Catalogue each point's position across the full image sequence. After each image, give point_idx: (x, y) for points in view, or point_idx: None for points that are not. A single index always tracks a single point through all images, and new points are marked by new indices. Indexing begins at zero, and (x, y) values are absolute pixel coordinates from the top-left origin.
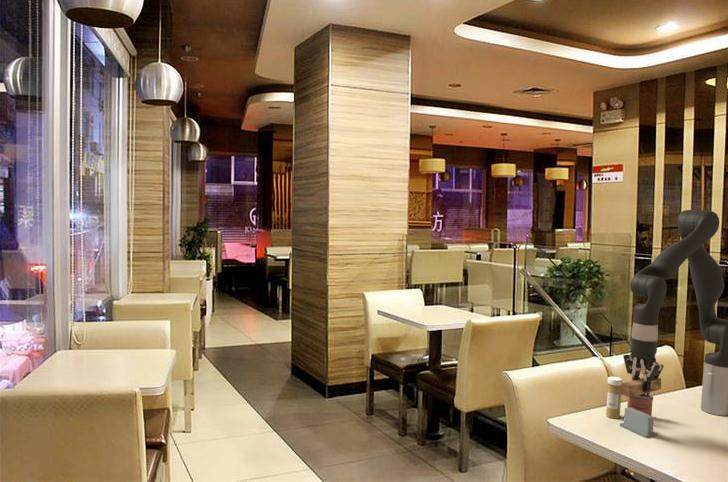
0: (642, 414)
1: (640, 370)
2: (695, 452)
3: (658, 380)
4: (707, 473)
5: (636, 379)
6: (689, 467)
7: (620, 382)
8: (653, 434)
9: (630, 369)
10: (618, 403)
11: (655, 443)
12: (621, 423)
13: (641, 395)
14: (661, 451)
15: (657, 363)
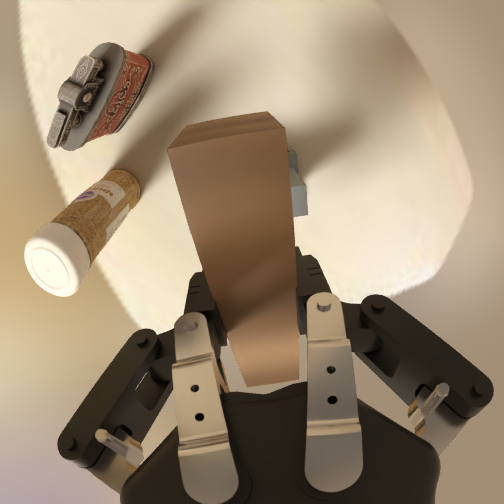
0: None
1: (214, 360)
2: (410, 139)
3: (287, 165)
4: (462, 210)
5: (223, 324)
6: (440, 223)
7: (80, 258)
8: (296, 167)
9: (168, 386)
10: (119, 208)
11: (337, 200)
12: None
13: (94, 98)
14: (376, 222)
15: (454, 435)
